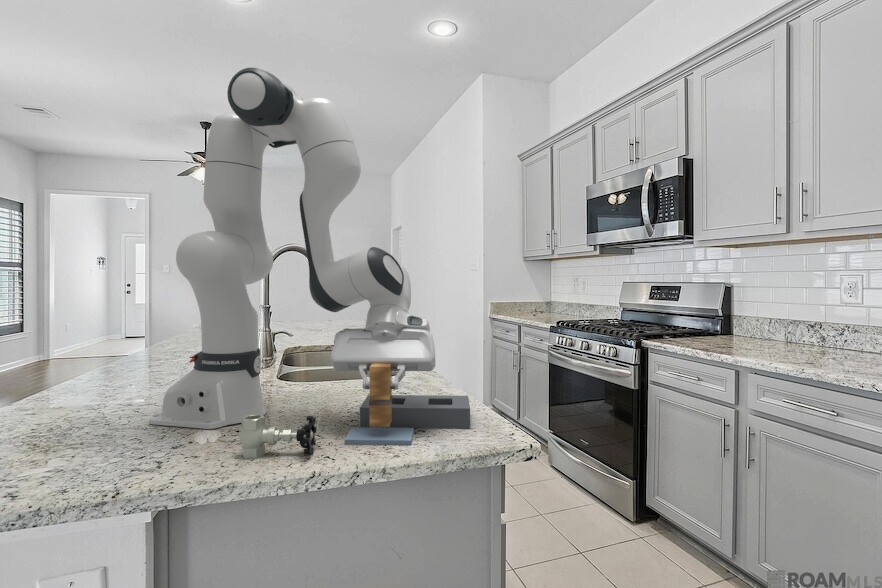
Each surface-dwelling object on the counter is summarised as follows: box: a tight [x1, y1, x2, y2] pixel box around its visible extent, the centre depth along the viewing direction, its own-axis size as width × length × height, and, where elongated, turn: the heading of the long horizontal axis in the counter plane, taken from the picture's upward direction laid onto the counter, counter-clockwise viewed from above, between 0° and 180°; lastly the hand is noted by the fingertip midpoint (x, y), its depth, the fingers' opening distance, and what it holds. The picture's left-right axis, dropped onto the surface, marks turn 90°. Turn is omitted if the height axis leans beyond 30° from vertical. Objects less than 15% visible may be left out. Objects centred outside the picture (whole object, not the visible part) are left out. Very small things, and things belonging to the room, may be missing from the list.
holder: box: [359, 394, 471, 429], centre depth 100 cm, size 22×10×4 cm, turn 89°
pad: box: [343, 426, 415, 446], centre depth 89 cm, size 12×7×1 cm, turn 89°
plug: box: [369, 363, 393, 428], centre depth 89 cm, size 4×4×11 cm
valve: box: [239, 414, 317, 460], centre depth 81 cm, size 7×7×12 cm
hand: (380, 387), depth 88 cm, fingers closed on plug, 4 cm apart
